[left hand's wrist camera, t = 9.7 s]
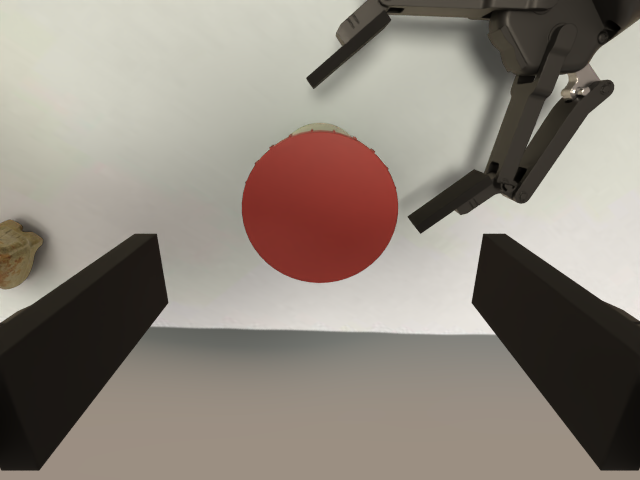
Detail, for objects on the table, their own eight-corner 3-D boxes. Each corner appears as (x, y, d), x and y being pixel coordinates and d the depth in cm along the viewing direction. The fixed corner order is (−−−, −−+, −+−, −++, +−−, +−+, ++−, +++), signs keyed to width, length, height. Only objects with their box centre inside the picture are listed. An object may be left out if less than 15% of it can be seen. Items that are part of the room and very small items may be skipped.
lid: (424, 206, 21) (432, 213, 20) (319, 297, 23) (319, 310, 22) (320, 93, 19) (320, 92, 17) (215, 205, 21) (208, 213, 19)
